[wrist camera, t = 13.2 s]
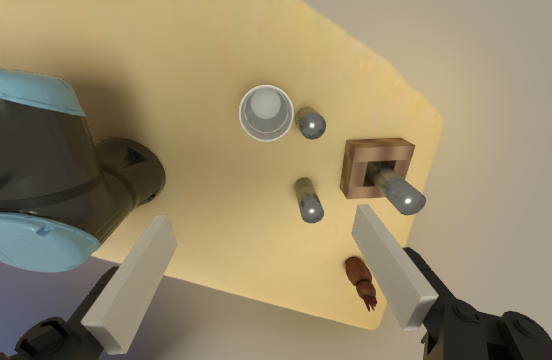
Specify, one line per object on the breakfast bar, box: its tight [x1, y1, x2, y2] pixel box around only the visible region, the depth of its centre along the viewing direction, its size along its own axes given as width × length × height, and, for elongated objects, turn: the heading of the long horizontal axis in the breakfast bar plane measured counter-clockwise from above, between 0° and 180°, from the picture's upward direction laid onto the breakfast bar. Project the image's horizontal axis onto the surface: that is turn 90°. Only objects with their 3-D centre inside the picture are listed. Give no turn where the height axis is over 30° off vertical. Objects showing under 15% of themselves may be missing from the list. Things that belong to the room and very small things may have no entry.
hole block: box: [340, 138, 415, 199], centre depth 46 cm, size 12×12×5 cm
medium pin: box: [294, 178, 324, 223], centre depth 45 cm, size 4×4×11 cm
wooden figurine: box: [346, 258, 377, 311], centre depth 57 cm, size 7×6×15 cm
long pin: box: [365, 161, 426, 215], centre depth 41 cm, size 4×4×16 cm
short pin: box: [296, 107, 326, 139], centre depth 39 cm, size 4×4×7 cm
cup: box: [239, 85, 294, 142], centre depth 35 cm, size 8×8×12 cm
